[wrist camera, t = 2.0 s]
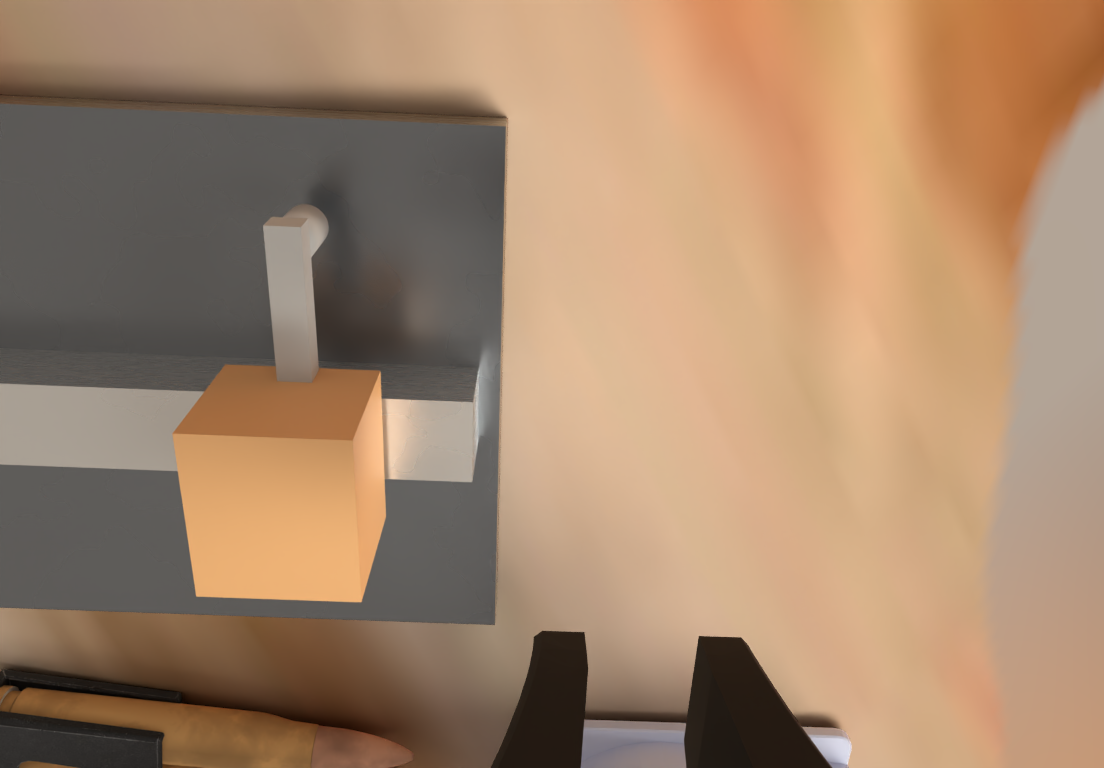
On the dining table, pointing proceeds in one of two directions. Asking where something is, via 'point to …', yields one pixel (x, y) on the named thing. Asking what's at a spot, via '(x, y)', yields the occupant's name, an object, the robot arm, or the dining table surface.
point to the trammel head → (285, 453)
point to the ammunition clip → (163, 731)
